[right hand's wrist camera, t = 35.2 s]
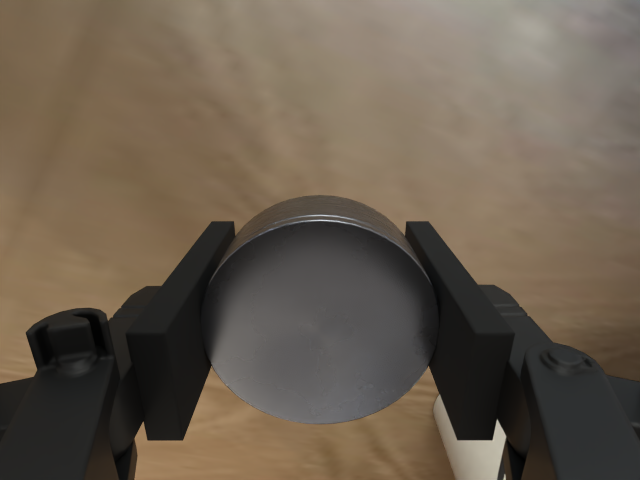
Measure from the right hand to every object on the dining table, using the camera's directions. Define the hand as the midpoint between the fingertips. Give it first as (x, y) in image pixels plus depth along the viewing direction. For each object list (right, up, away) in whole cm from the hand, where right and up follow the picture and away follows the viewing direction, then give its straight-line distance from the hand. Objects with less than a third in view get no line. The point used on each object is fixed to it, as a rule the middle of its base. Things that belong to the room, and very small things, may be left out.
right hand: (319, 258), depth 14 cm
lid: (0, -2, -4) cm, 4 cm away
